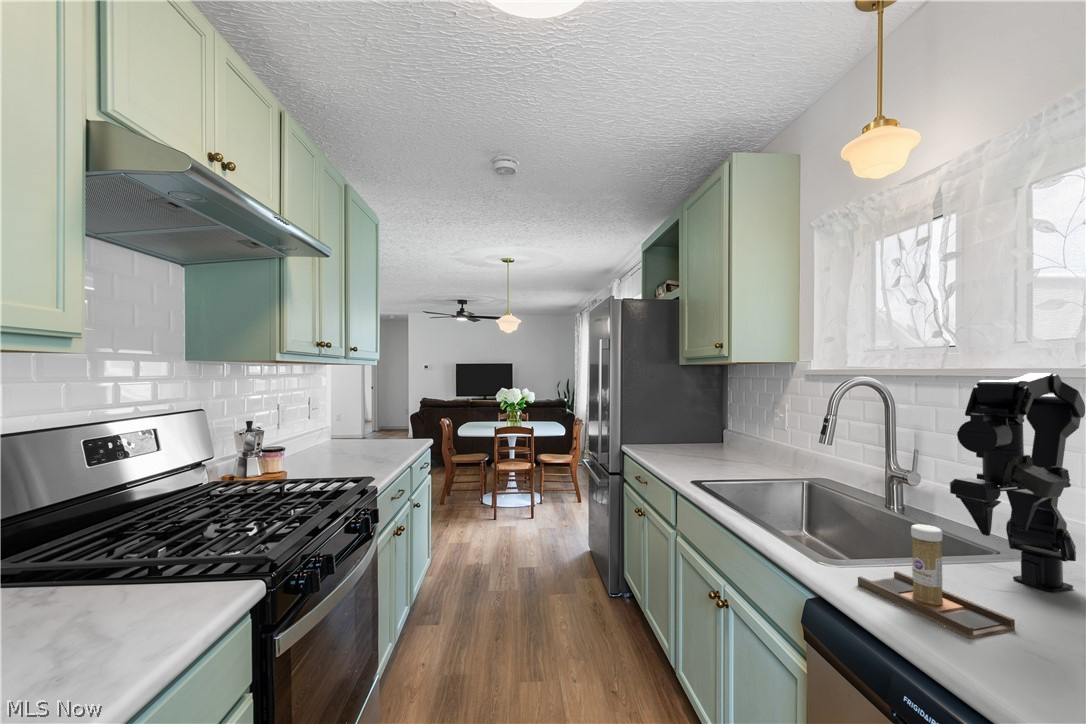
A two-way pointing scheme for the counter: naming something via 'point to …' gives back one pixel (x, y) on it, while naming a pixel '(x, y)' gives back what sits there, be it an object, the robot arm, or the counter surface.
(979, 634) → the board
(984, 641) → the counter surface
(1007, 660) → the counter surface
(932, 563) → the sprinkles bottle
